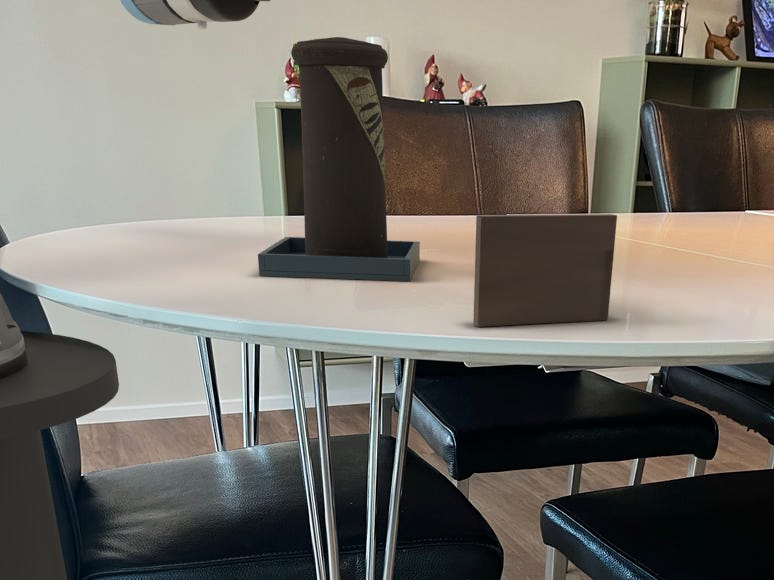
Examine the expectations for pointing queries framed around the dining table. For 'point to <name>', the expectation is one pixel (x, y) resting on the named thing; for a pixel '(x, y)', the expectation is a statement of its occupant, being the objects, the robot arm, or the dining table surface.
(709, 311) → the dining table surface
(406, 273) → the tray
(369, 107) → the container
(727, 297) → the dining table surface
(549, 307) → the brown wooden block
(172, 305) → the dining table surface
